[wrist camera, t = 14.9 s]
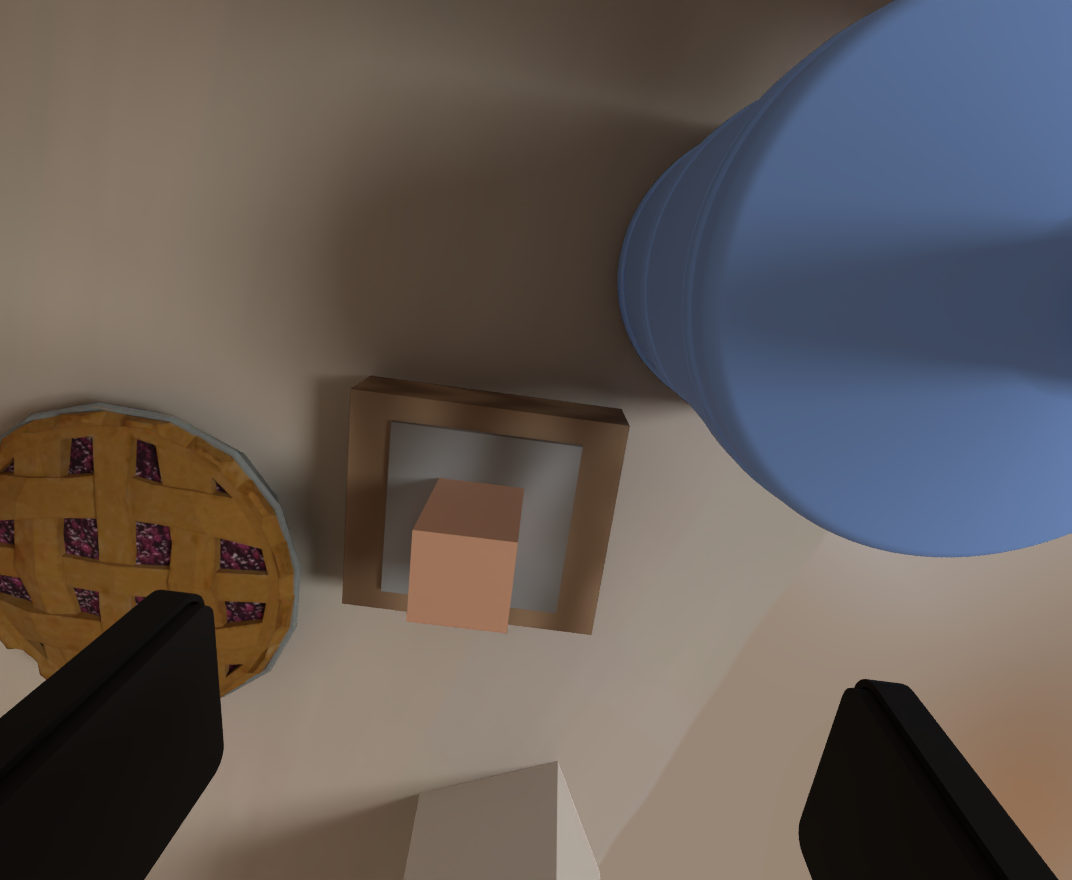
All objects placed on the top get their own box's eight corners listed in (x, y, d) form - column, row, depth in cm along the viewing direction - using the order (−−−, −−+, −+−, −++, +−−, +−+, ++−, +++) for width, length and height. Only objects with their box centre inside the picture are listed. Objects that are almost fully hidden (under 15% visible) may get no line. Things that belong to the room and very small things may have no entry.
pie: (333, 678, 44) (307, 728, 40) (48, 672, 45) (-13, 722, 40) (300, 392, 38) (264, 411, 33) (-32, 390, 38) (-115, 408, 34)
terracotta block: (524, 488, 35) (517, 542, 28) (514, 564, 36) (506, 633, 29) (439, 477, 34) (412, 529, 28) (433, 554, 36) (406, 621, 29)
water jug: (579, 193, 34) (686, -63, 7) (852, 84, 32) (2391, -818, 5) (658, 437, 38) (915, 856, 11) (905, 354, 36) (1920, 619, 9)
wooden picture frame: (621, 409, 38) (630, 427, 33) (587, 600, 42) (591, 638, 37) (371, 375, 37) (348, 390, 33) (361, 571, 41) (340, 606, 37)
